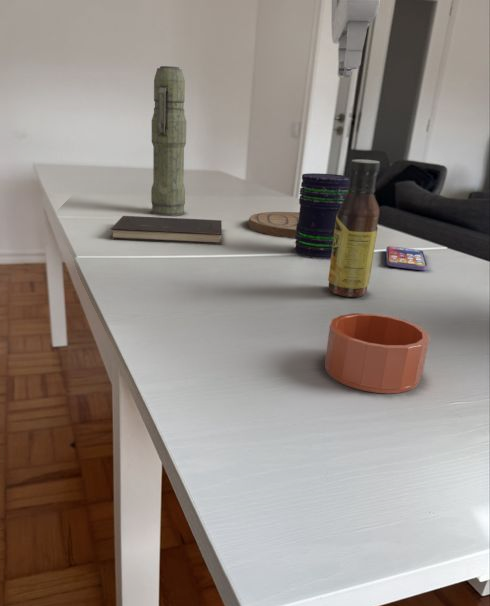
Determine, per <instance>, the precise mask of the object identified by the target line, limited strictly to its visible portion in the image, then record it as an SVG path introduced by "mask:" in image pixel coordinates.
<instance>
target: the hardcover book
mask: <svg viewBox="0 0 490 606" xmlns="http://www.w3.org/2000/svg"><path fill="white" fill-rule="evenodd" d="M222 223H223V222H222V219H221V220H220V219H203V218H202V219H201V218H181V217H162V216H161V217H159V216H141V215H140V216H137V215H135V216H134V215H122V217H120V218H119V219H118V220H117V222H115V223H114V225H112V226H111V228H110V231H112V236H111V238H110V240H116V241H117V240H118V241H119V240H120V241H138V242H160V243H180V244H181V243H182V244H203V245H222V235H223V234H222V230H223V229H222Z"/></svg>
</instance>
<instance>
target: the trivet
mask: <svg viewBox="0 0 490 606" xmlns="http://www.w3.org/2000/svg"><path fill="white" fill-rule="evenodd" d="M299 213H300V211H299V212H298V211H268V212H267V211H266V212H259V213H254V214H252V215H250V216H249V217H248V227H249V228H250V229H251V230H252V231H255V232H258V233H262V234H264V235H265V234H266V235H271V236H277V237H281V238H282V237H283V238H290V239H295V235H296V232H297V231H296V227H297V224H298V222H299Z"/></svg>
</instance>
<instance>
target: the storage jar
mask: <svg viewBox="0 0 490 606" xmlns="http://www.w3.org/2000/svg"><path fill="white" fill-rule="evenodd" d="M301 180H302V181H301V183H300V189H299V199H298V204H299V222H298V224H297V227H296V231H297V232H296V235H295V238H294V239H295V241H294V244H295V247H294V253H295V254H297V255H299V256H302V257H306V258H313V259H323V260H324V259H325V260H326V259H327V260H328V259H330V260H331V254H332V246H333V238H334V231H335V223H336V215H337V213H338V211H339V209H340V207H341V205H342V203H343V200H344V198H345V196H346V194H347V192H348V187H349V183H350V175H349V176H348V175H345V174H343V175H342V174H333V173H319V172H318V173H314V172H313V173H309V172H308V173H302V175H301Z"/></svg>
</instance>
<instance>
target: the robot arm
mask: <svg viewBox="0 0 490 606" xmlns="http://www.w3.org/2000/svg"><path fill="white" fill-rule="evenodd" d="M380 5H381V0H331V39H332V43H333V44H334V45H338V46H337V58H338V59H337V62H338V64H337V76H338V77H339V78H349V77H350V76H351V75H352V73H353V70H357V69H358V68H359V67H360V66H361V64H362V57H363V50H364V47H365V42H366V36H367V31H368V28H369V27H370V25H371V24H372V23H373V22H374V20H375V19H376V17H377V16H378V14H379V10H380Z"/></svg>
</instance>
